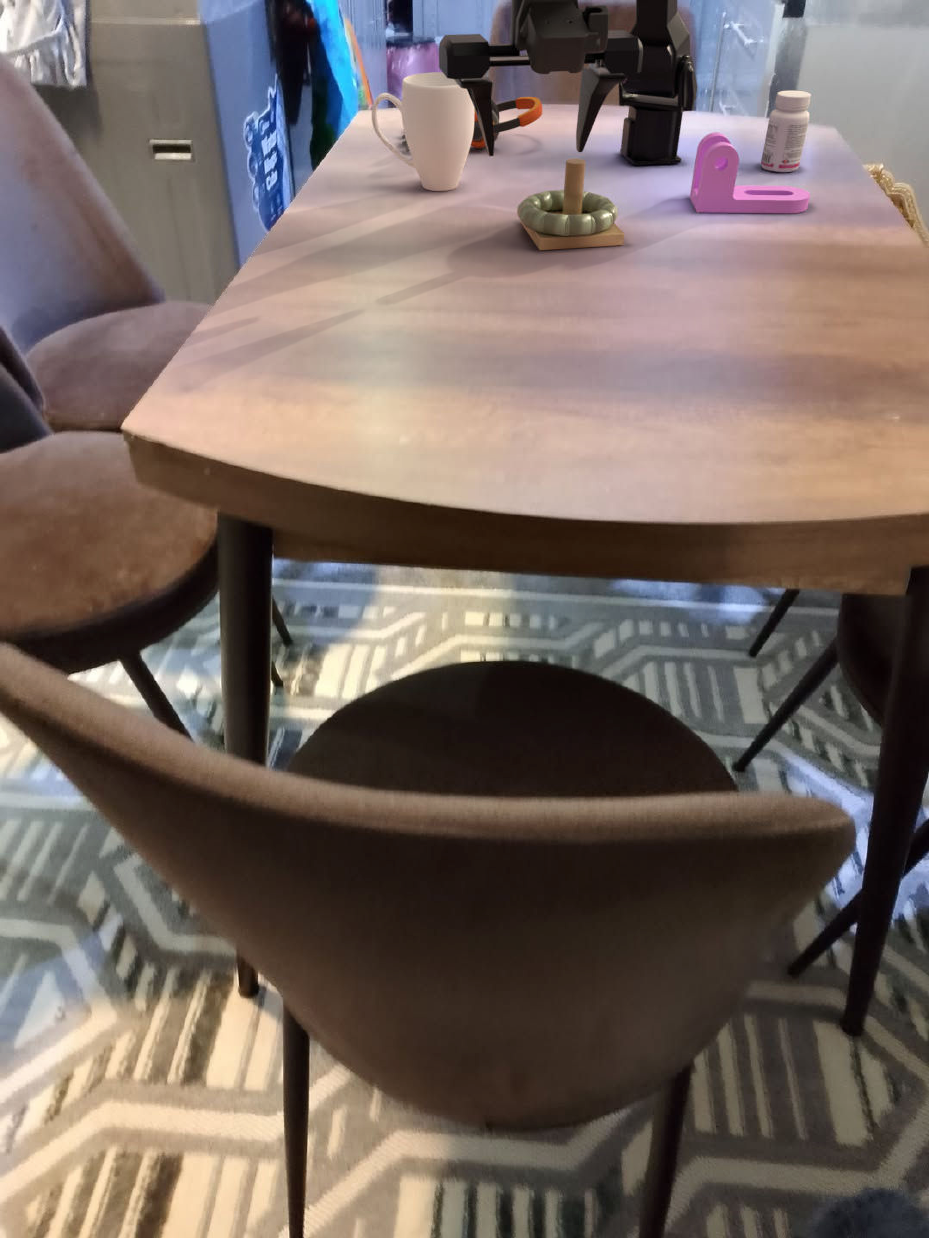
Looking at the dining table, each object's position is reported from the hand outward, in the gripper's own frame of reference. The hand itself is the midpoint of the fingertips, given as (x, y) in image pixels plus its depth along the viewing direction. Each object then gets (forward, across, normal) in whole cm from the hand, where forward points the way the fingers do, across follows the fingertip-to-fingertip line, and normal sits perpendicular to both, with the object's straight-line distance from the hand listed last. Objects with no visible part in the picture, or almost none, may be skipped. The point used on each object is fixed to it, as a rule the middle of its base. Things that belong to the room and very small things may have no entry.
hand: (535, 153), depth 92 cm
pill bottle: (+8, +37, +20) cm, 43 cm away
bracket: (+8, +27, +6) cm, 29 cm away
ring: (+6, +4, 0) cm, 7 cm away
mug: (+8, -9, +20) cm, 23 cm away
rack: (+8, +4, 0) cm, 9 cm away
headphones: (+8, 0, +39) cm, 40 cm away
